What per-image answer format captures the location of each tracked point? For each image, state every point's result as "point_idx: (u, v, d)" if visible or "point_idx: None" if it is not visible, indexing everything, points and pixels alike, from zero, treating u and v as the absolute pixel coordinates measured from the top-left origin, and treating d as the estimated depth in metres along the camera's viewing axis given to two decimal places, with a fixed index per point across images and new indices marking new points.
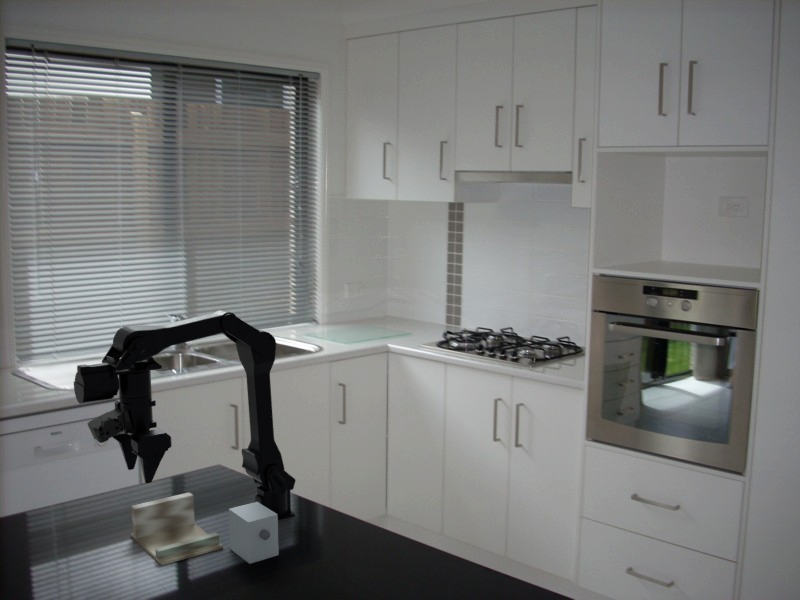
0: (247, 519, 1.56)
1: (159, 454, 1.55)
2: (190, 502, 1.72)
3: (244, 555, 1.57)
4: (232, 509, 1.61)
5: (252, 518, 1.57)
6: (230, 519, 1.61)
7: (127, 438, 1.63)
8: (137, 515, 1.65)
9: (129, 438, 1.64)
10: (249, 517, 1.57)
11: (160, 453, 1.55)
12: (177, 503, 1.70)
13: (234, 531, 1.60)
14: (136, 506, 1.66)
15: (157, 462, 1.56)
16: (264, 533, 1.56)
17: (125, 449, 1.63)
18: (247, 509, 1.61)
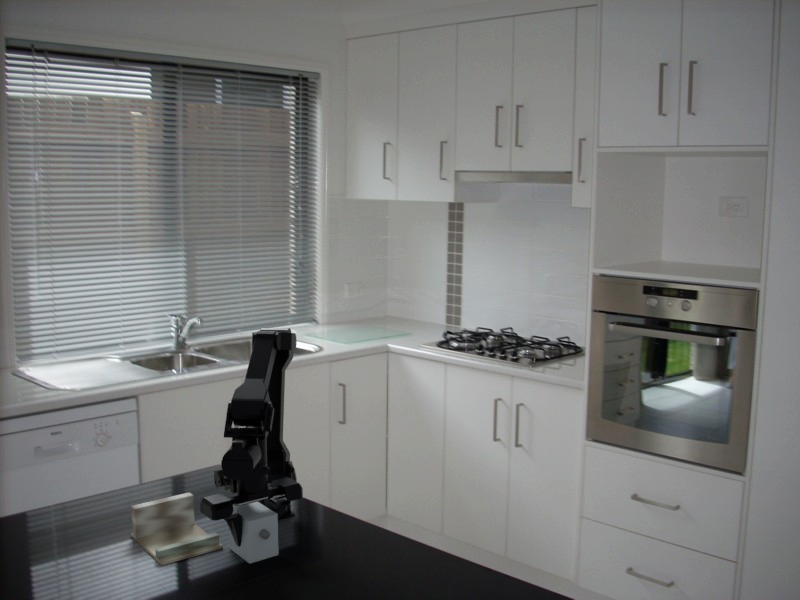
0: (247, 518, 1.56)
1: (232, 522, 1.56)
2: (190, 502, 1.72)
3: (244, 555, 1.57)
4: None
5: (252, 517, 1.57)
6: None
7: (269, 505, 1.62)
8: (137, 515, 1.65)
9: (270, 506, 1.62)
10: (249, 516, 1.57)
11: None
12: (177, 503, 1.70)
13: None
14: (136, 506, 1.66)
15: (234, 529, 1.56)
16: (264, 532, 1.56)
17: None
18: (247, 508, 1.61)
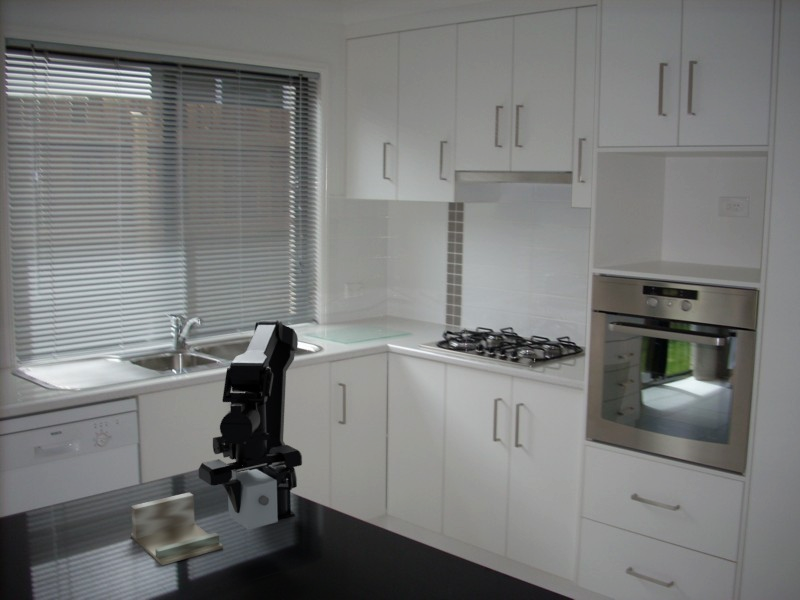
0: (246, 484, 1.55)
1: (231, 488, 1.55)
2: (190, 502, 1.72)
3: (243, 521, 1.56)
4: None
5: (251, 483, 1.56)
6: None
7: (268, 472, 1.61)
8: (137, 515, 1.65)
9: (269, 473, 1.61)
10: (248, 482, 1.56)
11: None
12: (177, 503, 1.70)
13: None
14: (136, 506, 1.66)
15: (233, 495, 1.55)
16: (263, 498, 1.55)
17: None
18: (246, 475, 1.60)
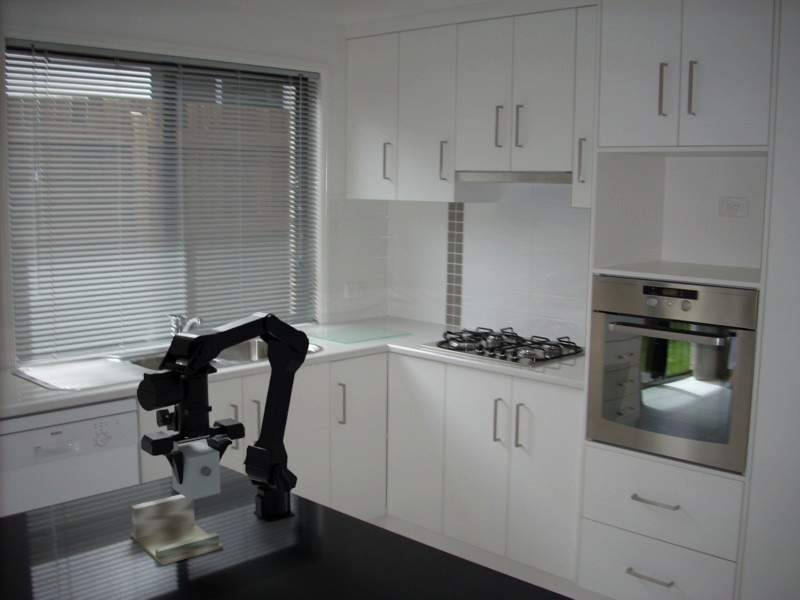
0: (189, 455, 1.57)
1: (173, 459, 1.57)
2: (190, 502, 1.72)
3: (185, 492, 1.58)
4: None
5: (194, 454, 1.58)
6: None
7: (211, 445, 1.63)
8: (137, 515, 1.65)
9: (212, 446, 1.63)
10: (191, 454, 1.58)
11: (173, 458, 1.56)
12: (177, 503, 1.70)
13: None
14: (136, 506, 1.66)
15: (175, 466, 1.57)
16: (206, 469, 1.57)
17: None
18: (189, 447, 1.62)
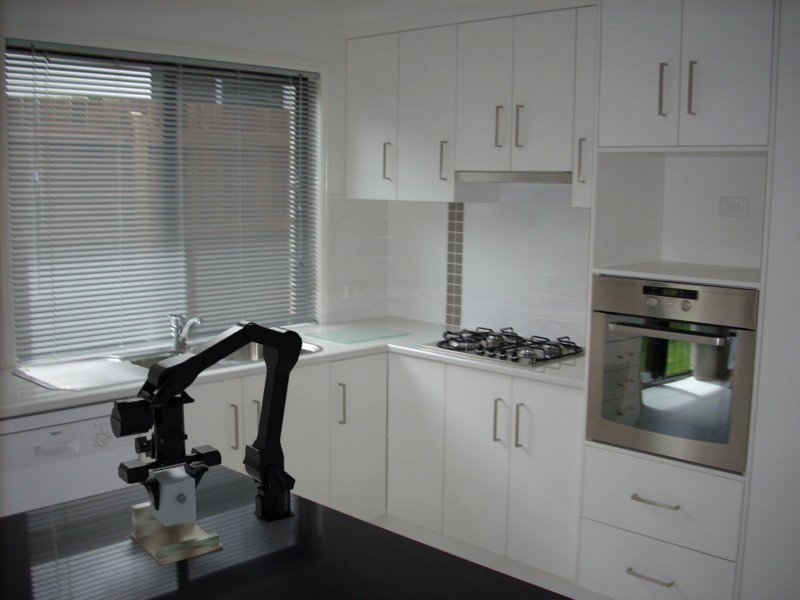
0: (164, 483, 1.61)
1: None
2: None
3: (162, 518, 1.62)
4: None
5: (169, 482, 1.61)
6: None
7: (188, 471, 1.67)
8: (137, 515, 1.65)
9: (189, 472, 1.66)
10: (167, 481, 1.62)
11: (149, 486, 1.60)
12: None
13: None
14: (136, 506, 1.66)
15: (151, 493, 1.61)
16: (181, 496, 1.61)
17: None
18: (166, 474, 1.65)
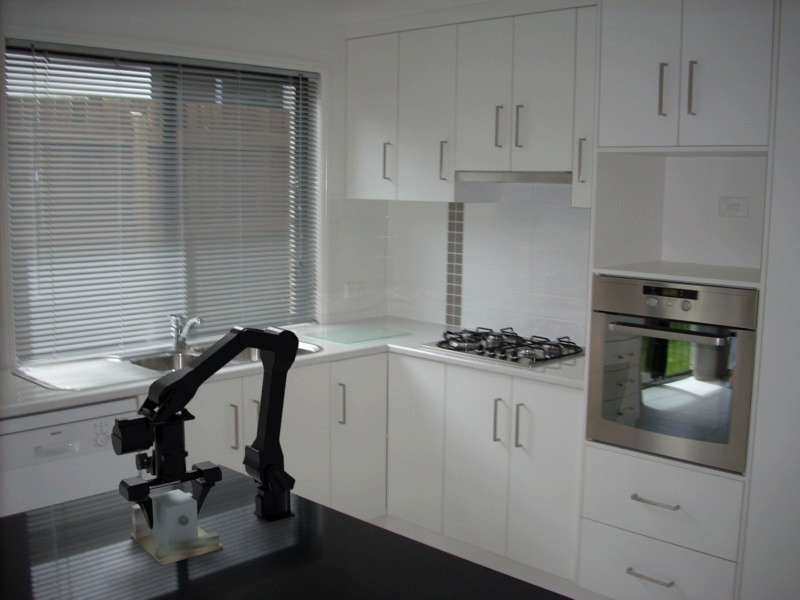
0: (167, 505, 1.61)
1: None
2: None
3: (164, 540, 1.62)
4: (153, 496, 1.66)
5: (171, 504, 1.62)
6: None
7: (195, 486, 1.68)
8: (137, 515, 1.65)
9: (196, 487, 1.68)
10: (169, 503, 1.62)
11: (143, 504, 1.60)
12: None
13: (155, 518, 1.65)
14: (136, 506, 1.66)
15: (145, 512, 1.61)
16: (183, 518, 1.61)
17: (193, 495, 1.68)
18: (167, 496, 1.66)
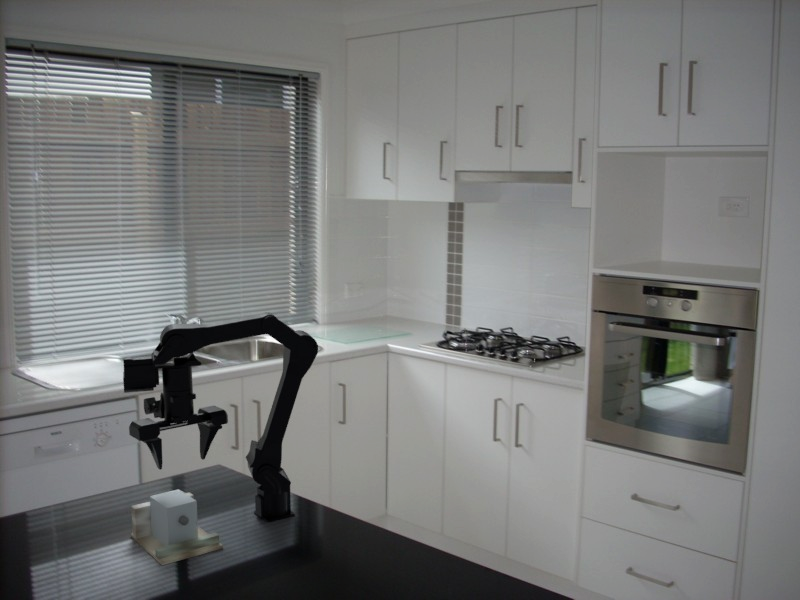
0: (167, 505, 1.61)
1: None
2: None
3: (164, 540, 1.62)
4: (153, 496, 1.66)
5: (171, 504, 1.62)
6: (151, 506, 1.66)
7: (202, 429, 1.74)
8: (137, 515, 1.65)
9: (203, 430, 1.74)
10: (169, 503, 1.62)
11: (152, 445, 1.66)
12: None
13: (155, 518, 1.65)
14: (136, 506, 1.66)
15: (155, 452, 1.66)
16: (183, 518, 1.61)
17: (200, 438, 1.75)
18: (167, 496, 1.66)
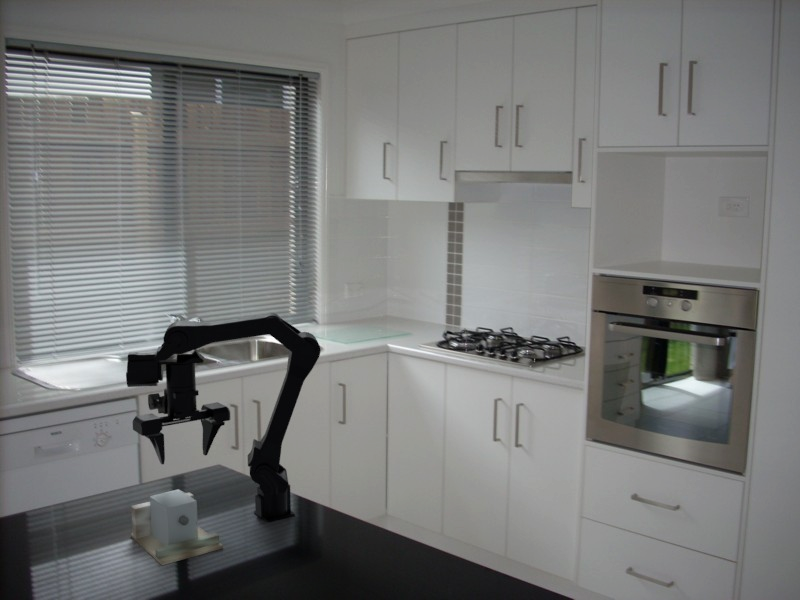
0: (167, 505, 1.61)
1: None
2: None
3: (164, 540, 1.62)
4: (153, 496, 1.66)
5: (171, 504, 1.62)
6: (151, 506, 1.66)
7: (205, 425, 1.76)
8: (137, 515, 1.65)
9: (206, 426, 1.76)
10: (169, 503, 1.62)
11: (155, 440, 1.68)
12: None
13: (155, 518, 1.65)
14: (136, 506, 1.66)
15: (157, 447, 1.69)
16: (183, 518, 1.61)
17: (203, 434, 1.77)
18: (167, 496, 1.66)
